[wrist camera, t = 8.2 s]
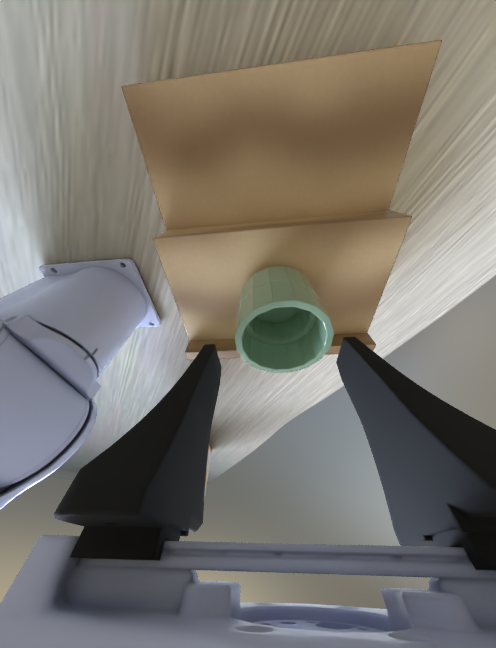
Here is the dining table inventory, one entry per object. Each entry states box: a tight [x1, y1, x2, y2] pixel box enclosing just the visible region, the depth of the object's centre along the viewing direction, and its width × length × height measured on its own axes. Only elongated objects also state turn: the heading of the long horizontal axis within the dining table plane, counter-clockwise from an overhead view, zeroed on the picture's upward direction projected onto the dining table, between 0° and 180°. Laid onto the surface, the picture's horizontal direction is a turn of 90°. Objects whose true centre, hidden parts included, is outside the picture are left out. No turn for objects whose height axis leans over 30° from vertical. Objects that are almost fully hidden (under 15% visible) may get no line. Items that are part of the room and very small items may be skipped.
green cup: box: [234, 266, 334, 373], centre depth 13 cm, size 6×6×5 cm
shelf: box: [122, 40, 442, 360], centre depth 14 cm, size 17×16×6 cm
